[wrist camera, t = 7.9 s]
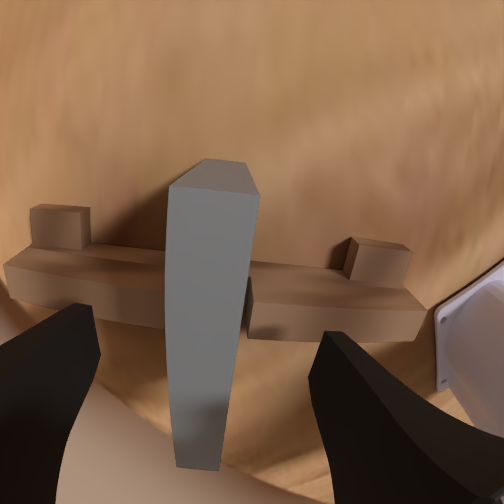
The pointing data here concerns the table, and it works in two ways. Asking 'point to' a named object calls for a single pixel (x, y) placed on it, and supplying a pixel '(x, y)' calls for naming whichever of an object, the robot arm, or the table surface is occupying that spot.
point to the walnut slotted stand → (257, 290)
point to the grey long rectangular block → (205, 301)
